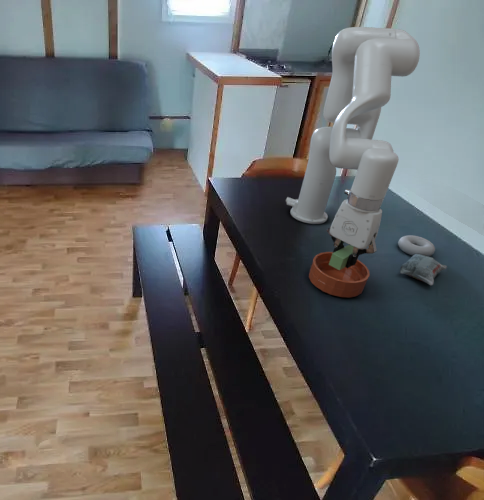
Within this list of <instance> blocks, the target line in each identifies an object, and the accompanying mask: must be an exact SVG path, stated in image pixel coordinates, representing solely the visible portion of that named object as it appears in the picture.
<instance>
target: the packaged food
mask: <svg viewBox="0 0 484 500" xmlns="http://www.w3.org/2000/svg"><path fill="white" fill-rule="evenodd" d="M447 268H448V265H445V264H441V263H440V262H439V261H437V260H436V259H435V258H434V257H432V256H429V257H427V256H423V255H420V254H415V255H413V256H412V255H411V257H410V258H409V259H408V260H407V261H405V262H404V263H402V265H401V266H400V271H399V272H400V275H404V274H405V275H407V276H408V277H411V278H414V279H415V280H419V281H420V282H423V283H426V284H427V285H429V286H434V282H435V278H436V277H437V275H438V274H439V273H441V272H442V271H444V270H446V269H447Z"/></svg>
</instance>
